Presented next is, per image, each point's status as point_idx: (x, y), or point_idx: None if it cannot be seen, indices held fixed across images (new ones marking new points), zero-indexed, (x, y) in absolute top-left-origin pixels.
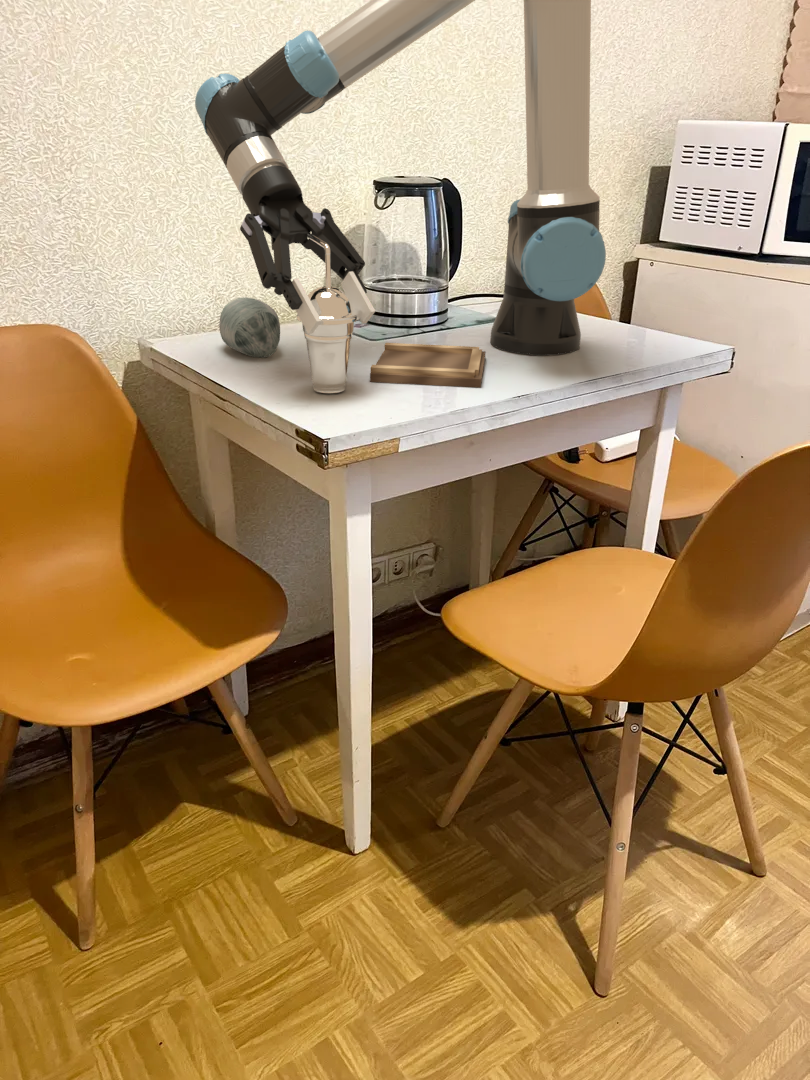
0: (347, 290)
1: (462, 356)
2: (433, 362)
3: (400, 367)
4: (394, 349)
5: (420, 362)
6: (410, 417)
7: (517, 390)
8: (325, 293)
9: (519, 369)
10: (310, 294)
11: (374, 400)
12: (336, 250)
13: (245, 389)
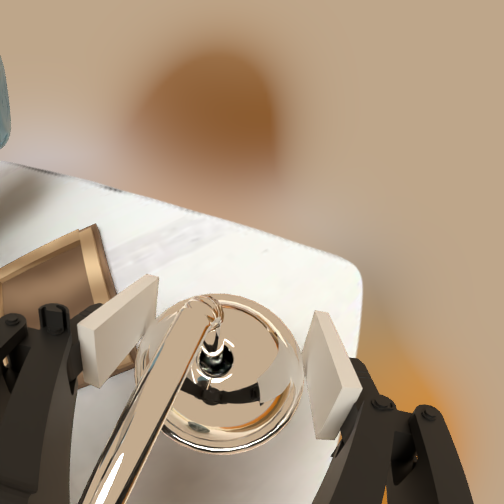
0: (115, 356)
1: (12, 288)
2: None
3: None
4: None
5: None
6: (247, 236)
7: (95, 199)
8: (259, 334)
9: (24, 231)
10: (271, 391)
11: None
12: (28, 391)
13: (305, 488)
